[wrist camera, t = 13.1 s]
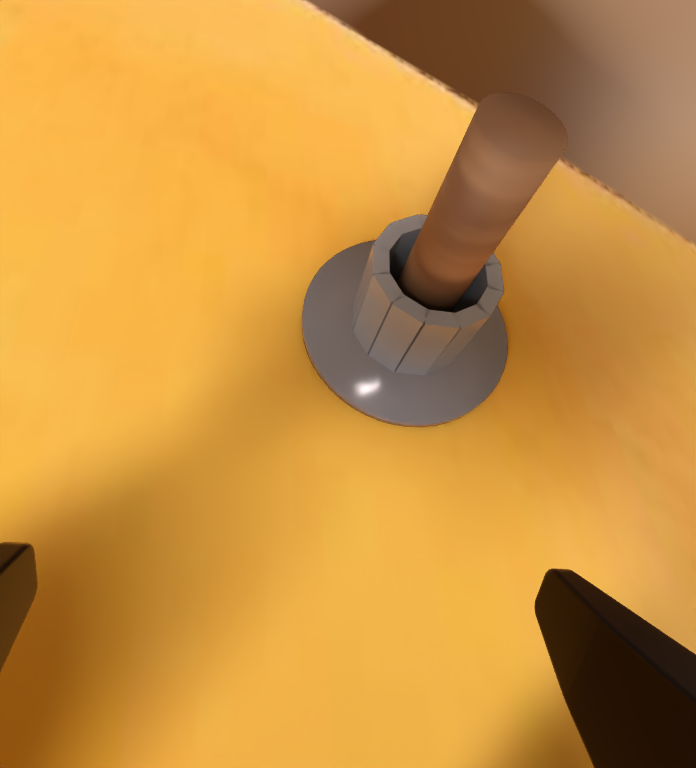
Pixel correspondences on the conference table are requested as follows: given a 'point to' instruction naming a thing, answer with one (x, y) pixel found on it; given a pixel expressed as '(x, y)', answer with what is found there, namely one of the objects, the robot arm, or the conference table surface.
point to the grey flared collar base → (402, 335)
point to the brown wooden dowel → (481, 196)
